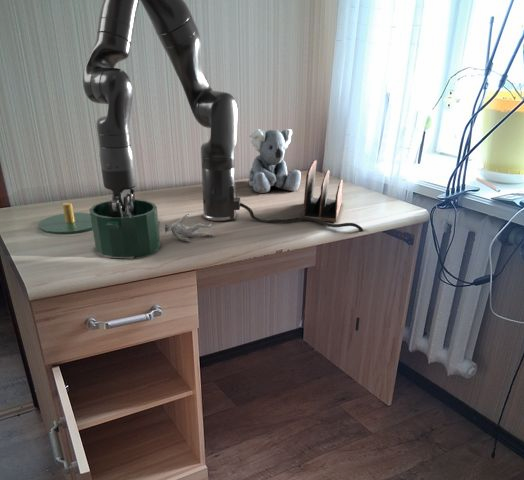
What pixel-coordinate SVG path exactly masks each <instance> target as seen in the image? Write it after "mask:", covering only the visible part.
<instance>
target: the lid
mask: <svg viewBox="0 0 524 480" xmlns="http://www.w3.org/2000/svg"><path fill="white" fill-rule="evenodd" d="M61 206H62V209H63V213H61V214H56V215H51V216H48V217H46V218H44V219H42V220H41V221H39V223H38V229H39V230H40V231H42V232H44V233H48V234H55V235H70V234H71V235H72V234H79V233H83V232H84V233H85V232H89V231H93V229H92V223H91V217H90V213H86V212H74V208H73V204H72V202H63V203H62V205H61Z"/></svg>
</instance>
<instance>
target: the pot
mask: <svg viewBox="0 0 524 480" xmlns="http://www.w3.org/2000/svg"><path fill="white" fill-rule="evenodd" d="M109 202H112V199H111V200H106V201H102V202H99V203H96V204H93V205H92V206H91V207H90V208H89V210H88V211H89V214H90V217H91V223H92V234H93V235H92V236H93V239H94V240H93V241H94V245H95V247H94V248H95V250H96V252H97V253H99V254H100V255H102V256H107V257H110V260H111V259H112V260H134V259H139V258H144V257H148V256H151V255H153V254H155V253H157V252H158V251H159V250H160V247H161V237H160V236H161V235H160V226H159V216H158V207H157V206H156V204H155V203H154V202H151V201H148V200H144V199H140V198H135V210H136V212H135V213H134V216H130V217H111V214H110V209H109ZM129 206H130V205H129Z"/></svg>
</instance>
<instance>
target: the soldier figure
mask: <svg viewBox="0 0 524 480" xmlns="http://www.w3.org/2000/svg"><path fill="white" fill-rule="evenodd" d="M188 216H190V213H186V214H184V215H183V216H182V217H181V218H179V219H178V221H176V222H174V223H172V226H171V224H170V225H168V224H164V227H163V228H164V233H165V234H167V233H168V232H171V233H172V235H173V236H174V237H175V238H176V239H177V240H179V241H182V242H185V241H186V242H189V241H190V238H195V237H201V238H202V237H205V236H208V237H212V234H213V232H202V231H200V230H199V229H205V228H207V229H211V228H212V226H213V223H210V224H203V223H200V222H199V223H196V224H193V225H192V226H187V225H185V224H182V223H184V221H185V219H186V218H188ZM198 230H199V231H198Z"/></svg>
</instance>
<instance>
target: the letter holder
mask: <svg viewBox="0 0 524 480" xmlns="http://www.w3.org/2000/svg"><path fill="white" fill-rule="evenodd" d="M317 163H318V161H317V159H314V160H312V162H311V163H310V165H309V168H308V170H307V172H306V175H305V176H306V177H305V186H304V198H303V207H302V208H303V209H302V217H310V218H315V219H318V220H321V221H323V222H326V223H337V220H338V217H339V213H340V210H341V205H342V200H343V182H344V180H343V178H341V179H340V180H339V182H338V186H337V190H336V194H335V199H331V198H328V194H329V184H330V183H329V181H330V170H329V169H328V170H327V171H326V172H325V173H324V176H323V179H322V183H321V185H320V194H319V196H318V197H314V190H315V182H316V170H317Z"/></svg>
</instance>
